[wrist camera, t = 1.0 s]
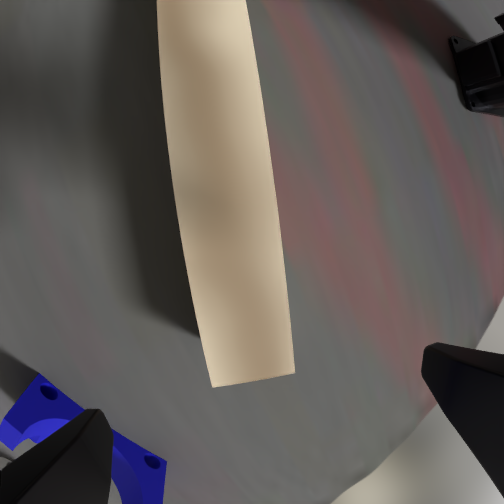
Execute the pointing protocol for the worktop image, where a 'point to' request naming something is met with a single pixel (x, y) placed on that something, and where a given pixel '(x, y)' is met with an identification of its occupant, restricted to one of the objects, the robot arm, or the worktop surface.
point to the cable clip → (64, 410)
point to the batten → (224, 188)
